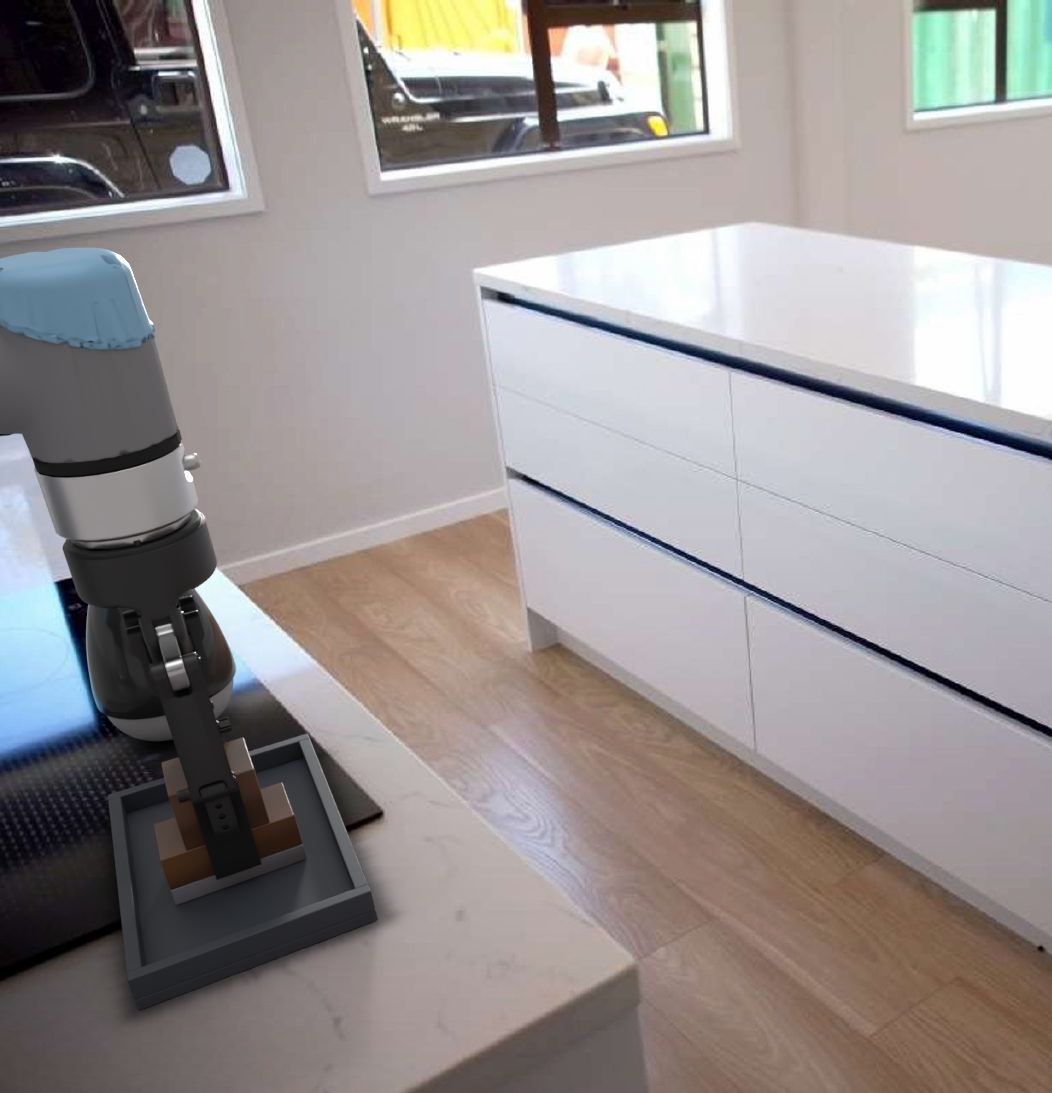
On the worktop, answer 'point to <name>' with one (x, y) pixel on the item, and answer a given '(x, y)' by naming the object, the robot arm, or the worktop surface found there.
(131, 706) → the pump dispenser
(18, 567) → the worktop surface
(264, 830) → the brown t-shaped block
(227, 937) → the tray
